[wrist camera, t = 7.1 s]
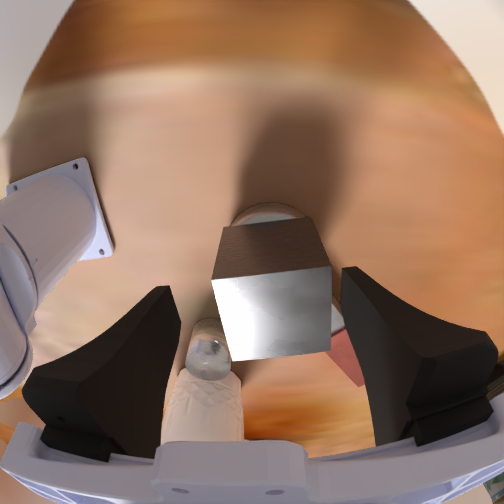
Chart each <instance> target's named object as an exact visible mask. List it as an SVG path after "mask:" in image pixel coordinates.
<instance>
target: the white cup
mask: <svg viewBox="0 0 504 504" xmlns="http://www.w3.org/2000/svg"><path fill="white" fill-rule="evenodd" d="M172 441H208V442H229V441H244V417H243V405H242V399H241V380H240V379H239V378H238V377H237V376H236V375H235V373H234V372H232V371H230V372H229V374H228V375H227V376H226V377H225V378H223V379H221V380H216V381H206V380H202V379H199V378H196V377H194V376H193V375H192V374H190V373H189V372H188V370H187V369H186V368H184V369H182V370H181V371H180V373H179V375H178V377H177V380H176V383H175V387H174V390H173V392H172V394H171V396H170V400H169V403H168V405H167V408H166V412H165V415H164V418H163V422H162V429H161V445H162V444H164V443H166V442H172Z"/></svg>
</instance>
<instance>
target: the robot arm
mask: <svg viewBox="0 0 504 504" xmlns="http://www.w3.org/2000/svg"><path fill="white" fill-rule="evenodd" d="M75 164H77V165H78V169H77V168H76V167H75ZM16 186H17V188H16ZM5 191H6V195H7V197H5V198H3V199H1V200H0V399H3V398H4V397H6V396H8V395H9V394H10V393H12V392H13V391H14V390H15V389H16V388H17V387H18V386H19V385H20V384H21V383H22V381H23V380H24V379H25V377H26V375H27V374H28V372H29V370H30V367H31V364H32V360H33V349H32V345H31V342H30V340H29V338H28V336H29V335H30V333H31V332H32V331H33V329H34V328H35V326H36V325H37V324H36V321H35V318H34V313H35V311H36V309H37V308H38V307H39V306H40V304H41V303H42V302H43V301H44V299H45V298H46V297H47V296H48V295H49V293H50V292H51V291H52V290H53V289H54V287H55V286H56V285H57V284H58V283H59V282H60V280H61V279H62V278H63V277H64V276H65V275H66V273H67V272H68V271H69V270H70V269H71V268H72V267H73V266H74V264H75V263H76V262H77V261H81V260H88V259H95V258H102V257H109V256H111V255H112V254H113V253H114V247H113V244H112V241H111V238H110V235H109V232H108V229H107V226H106V223H105V220H104V217H103V214H102V210H101V207H100V204H99V200H98V197H97V193H96V190H95V186H94V183H93V179H92V175H91V171H90V168H89V164H88V161H87V159H86V158H84V157H82V158H78V159H75V160H72V161H69V162H66V163H63V164H61V165H58V166H55V167H52V168H49V169H47V170H44V171H41V172H39V173H36V174H33V175H31V176H28V177H26V178H23V179H21V180H19V181H16V182H14V183H11V184H9V185H7V186H6V188H5ZM101 249H103V250H104V251H105V253H104V252H102V251H101ZM340 308H341V312H342V316H343V320H344V324H345V328H346V331H347V333H348V336H349V338H350V341H351V344H352V346H353V349H354V351H355V354H356V357H357V359H358V362H359V365H360V367H361V371H362V374H363V377H364V382H365V386H366V390H367V395H368V400H369V405H370V410H371V416H372V422H373V428H374V435H375V444H376V447H372V448H368V449H363V450H358V451H353V452H347V453H342V454H336V455H329V456H323V457H315V458H308V453H307V452H306V450H305V449H304V448H303V446H301V445H299V444H296V443H292V442H289V441H283V440H259V441H229V442H208V441H172V442H166V443H164V444H162V445H161V429H162V418H163V408H164V400H165V393H166V388H167V383H168V379H169V376H170V372H171V369H172V365H173V361H174V358H175V354H176V351H177V347H178V343H179V337H180V330H181V320H180V317H179V314H178V311H177V308H176V305H175V301H174V298H173V295H172V292H171V289H170V285H168V286H156V287H155V288H154V289H153V290H151V291H150V292H149V293H148V294H147V295H146V296H145V297H144V298H143V299H142V300H141V301H140V302H138V303H137V304H136V305H135V306H134V307H133V308H132V309H131V310H130V311H129V312H128V313H127V314H125V315H124V316H123V317H122V318H121V319H120V320H118V321H117V322H116V323H115V324H114V325H113V326H111V327H110V328H109V329H107V330H106V331H105V332H103V333H102V334H101V335H99V336H98V337H96V338H95V339H93V340H92V341H90V342H89V343H87V344H85V345H84V346H82V347H80V348H79V349H77V350H75V351H73V352H71V353H69V354H67V355H65V356H63V357H61V358H59V359H56V360H54V361H52V362H49V363H46V364H43V365H41V366H38V367H35V368H34V369H33V370H32V372H31V374H30V376H29V377H28V379H27V381H26V383H25V385H24V386H23V388H22V395H23V397H24V399H25V401H26V402H27V404H28V405H29V407H30V408H31V409H32V410H33V411H34V412H35V413H36V414H37V415H38V417H40V419H41V420H42V421H43V422H44V423H45V424H46V426H45V428H44V430H42V429H41V428H39V427H37V426H34V425H31V424H28V423H24V422H19V423H18V425H17V427H16V429H15V431H14V433H13V435H12V437H11V440H10V442H9V444H8V446H7V449H6V451H5V453H4V456H3V458H2V460H1V463H0V467H1V468H2V469H3V470H4V471H6V472H7V473H8V474H10V475H11V476H12V477H14V478H15V479H16V480H18V481H19V482H20V483H22V484H23V485H25V486H26V487H28V488H29V489H30V490H32V491H33V492H35V493H36V494H39V495H41V496H43V497H45V498H48V499H50V500H52V501H55V502H57V503H59V504H441V503H444V502H446V501H448V500H450V499H452V498H455V497H457V496H459V495H461V494H463V493H465V492H467V491H469V490H471V489H473V488H475V487H476V486H479V485H480V484H482V483H484V482H486V481H488V480H490V479H492V478H493V477H495V476H497V475H499V474H500V473H502V472H504V393H502V394H500V395H498V396H496V397H494V398H493V399H492V400H491V401H490V402H489V400H488V398H487V397H486V395H487V394H488V393H489V390H488V388H487V386H486V384H485V383H486V382H487V380H488V378H489V376H490V375H491V373H492V371H493V369H494V367H495V365H496V362H497V360H498V353H499V352H498V349H497V347H496V346H495V344H494V343H493V341H492V340H491V339H490V337H489V336H488V334H487V333H486V332H484V331H480V330H475V329H471V328H466V327H462V326H459V325H456V324H453V323H449V322H447V321H444V320H441V319H439V318H436V317H434V316H432V315H429V314H427V313H425V312H423V311H421V310H419V309H417V308H415V307H413V306H412V305H410V304H408V303H406V302H405V301H403V300H401V299H400V298H398V297H397V296H395V295H394V294H392V293H391V292H389V291H388V290H387V289H385V288H384V287H383V286H381V285H380V284H379V283H377V282H376V281H375V280H373V279H372V278H371V277H369V276H368V275H367V274H366V273H364V272H363V271H362V270H361V269H359V268H358V267H356V266H354V267H345V268H342V283H341V306H340Z"/></svg>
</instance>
